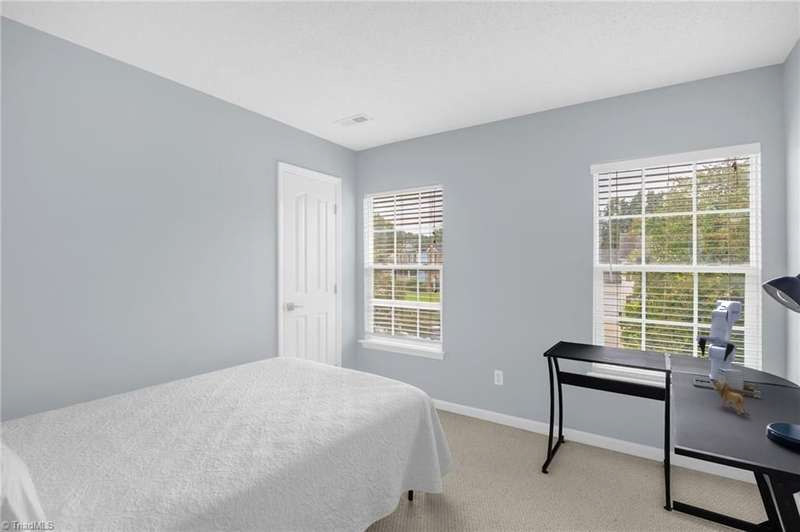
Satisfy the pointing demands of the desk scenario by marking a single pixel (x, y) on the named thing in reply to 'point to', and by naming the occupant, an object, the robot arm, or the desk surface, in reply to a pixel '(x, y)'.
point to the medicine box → (731, 378)
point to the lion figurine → (730, 397)
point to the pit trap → (702, 382)
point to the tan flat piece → (750, 386)
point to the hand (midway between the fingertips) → (713, 357)
